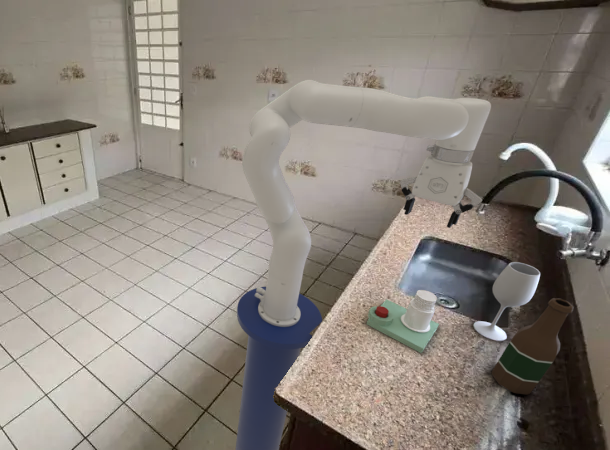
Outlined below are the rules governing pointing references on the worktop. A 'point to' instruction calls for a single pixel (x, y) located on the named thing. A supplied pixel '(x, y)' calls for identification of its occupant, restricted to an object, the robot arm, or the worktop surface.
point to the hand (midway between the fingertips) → (427, 219)
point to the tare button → (381, 312)
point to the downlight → (420, 311)
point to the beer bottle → (532, 350)
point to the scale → (400, 326)
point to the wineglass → (510, 295)
